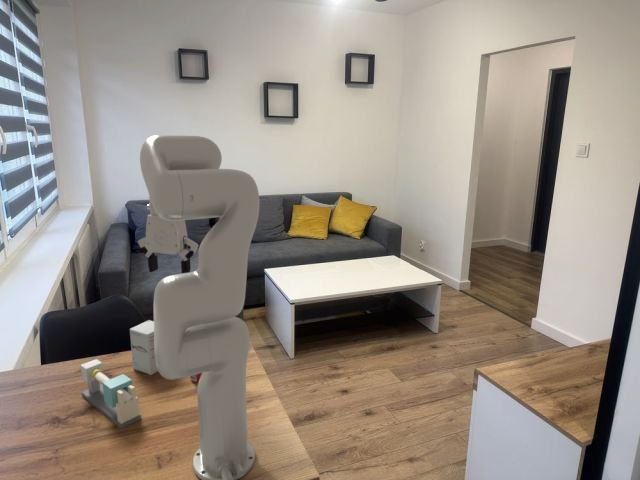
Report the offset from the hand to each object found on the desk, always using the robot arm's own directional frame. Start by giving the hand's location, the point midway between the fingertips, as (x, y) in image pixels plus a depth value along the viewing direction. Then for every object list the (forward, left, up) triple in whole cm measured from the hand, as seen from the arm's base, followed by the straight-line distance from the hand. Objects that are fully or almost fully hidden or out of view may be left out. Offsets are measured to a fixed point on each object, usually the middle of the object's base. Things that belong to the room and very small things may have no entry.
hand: (169, 272), depth 119 cm
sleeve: (-16, +15, -25) cm, 33 cm away
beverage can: (-8, -6, -29) cm, 31 cm away
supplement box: (+4, +6, -29) cm, 30 cm away
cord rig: (-12, +17, -29) cm, 36 cm away
